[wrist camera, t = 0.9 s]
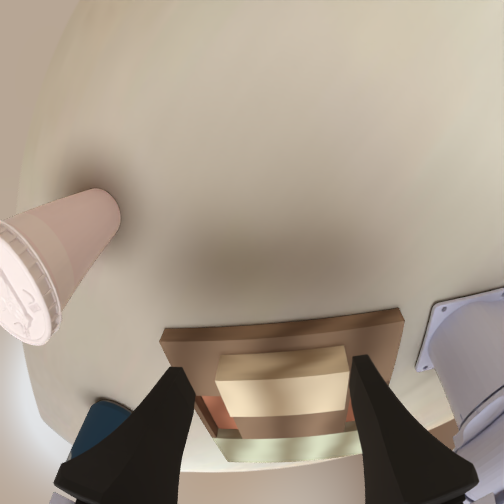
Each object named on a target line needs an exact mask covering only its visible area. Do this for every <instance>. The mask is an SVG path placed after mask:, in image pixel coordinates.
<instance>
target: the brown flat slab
mask: <svg viewBox="0 0 504 504" xmlns="http://www.w3.org/2000/svg"><path fill="white" fill-rule="evenodd" d="M404 323H405V320H404V318H403V316H402V314H401V312H400V310H399V308H395V309H389V310H383V311H376V312H370V313H363V314H356V315H348V316H340V317H332V318H324V319H315V320H306V321H296V322H285V323H274V324H261V325H247V326H230V327H210V328H180V329H165V330H164V332H163V334H162V336H161V339H160V341H159V342H160V344H161V346H162V348H163V351H164V353H165V355H166V357H167V359H168V361H169V363H170V365H171V366H172V367H183V369H184V371H185V374H186V376H187V378H188V380H189V382H190V384H191V385H192V387H193V389H194V391H195V393H196V396H195V405H194V409H195V410H196V412H197V414H198V415H199V417H200V419H201V420H202V422H203V424H204V425H205V427H206V429H207V430H208V432H209V433H210V435H211V437H212V438H213V440H214V441H215V443H216V444H217V446H218V448H219V449H220V451H221V452H222V454H223V455H224V457H225V458H226V460H227V461H228V462H248V463H271V462H296V461H309V460H320V459H329V458H337V457H344V456H351V455H357V454H362V449H361V444H360V440H359V435H358V431H357V427H356V423H355V418H354V414H353V410H352V405H351V397H350V389H349V382H350V374H351V366H352V357H353V356H358V355H365V354H367V355H369V357H370V358H371V360H372V362H373V363H374V365H375V367H376V368H377V370H378V371H379V373H380V375H381V376H382V378H383V379H384V381H385V382H386V383H387V385H388V386H389V383H390V379H391V376H392V372H393V369H394V365H395V361H396V357H397V353H398V349H399V345H400V341H401V336H402V332H403V327H404ZM342 345H344V348H345V352H346V357H347V362H348V366H349V371H350V372H349V380H348V388H347V395H346V402H345V408H344V410H338V411H330V412H322V413H312V414H301V415H287V416H266V417H230V415H229V413H228V410H227V408H226V406H225V404H224V401H223V399H222V397H221V394H220V392H219V390H218V387H217V385H216V382H215V378H216V373H217V368H218V364H219V359H220V355H238V354H258V353H274V352H287V351H298V350H308V349H318V348H327V347H335V346H342Z"/></svg>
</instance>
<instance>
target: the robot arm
mask: <svg viewBox="0 0 504 504" xmlns="http://www.w3.org/2000/svg"><path fill="white" fill-rule="evenodd" d="M443 307H444V308H443ZM442 308H443V309H442ZM433 368H435V371H436V373H437V375H438V377H439V380H440V382H441V385H442V387H443V389H444V392H445V394H446V397H447V399H448V402H449V404H450V407H451V410H452V412H453V415H454V418H455V420H456V423H457V426H458V429H459V432H458V433H457V434H456V435H455V436H454V437H453V440H454V443H455V448H454V449H453V451H452V450H451V449H449V448H448V447H446V446H445V445H444V444H443V443H441V442H440V441H439V440H438V439H437V438H435V437H434V436H433V435H432V434H430V433H429V432H428V431H427V430H426V429H425V428H424V427H423V426H422V425H421V424H420V423H419V422H418V421H417V420H416V419H415V418H414V417H413V416H412V415H411V414H410V413H409V411H408V410H407V409H406V408H405V407H404V406H403V404H402V403H401V402H400V401H399V399H398V398H397V397H396V396H395V394H394V393H393V392H392V390H391V389H390V387H389V386H388V385H387V383H386V382H385V381H384V379H383V378H382V376H381V375H380V373H379V371H378V370H377V368H376V367H375V365H374V363H373V362H372V360H371V358H370V357H369V355H367V354H365V355H358V356H353V357H352V366H351V374H350V382H349V389H350V397H351V405H352V410H353V414H354V418H355V423H356V427H357V431H358V435H359V440H360V444H361V449H362V455H363V463H364V464H363V465H364V478H365V498H366V499H365V502H366V503H365V504H504V288H500V289H496V290H492V291H488V292H484V293H480V294H476V295H472V296H467V297H463V298H458V299H454V300H449V301H444V302H440V303H437V304H435V305H434V306H433V308H432V312H431V316H430V320H429V323H428V327H427V331H426V334H425V338H424V341H423V345H422V348H421V351H420V354H419V357H418V360H417V363H416V366H415V369H416V371H417V372H421V371H425V370H429V369H433ZM195 396H196V393H195V391H194V389H193V387H192V385H191V384H190V382H189V380H188V378H187V376H186V374H185V371H184V369H183V367H169V368H168V370H167V371H166V372H165V373H164V375H163V376H162V377H161V378H160V380H159V381H158V382H157V384H156V385H155V386H154V387H153V389H152V390H151V391H150V393H149V394H148V395H147V396H146V397H145V399H144V400H143V401H142V402H141V403H140V405H139V406H138V407H137V408H136V409H135V410H134V411H133V412H132V413H131V415H130V416H129V417H128V418H127V419H126V420H125V421H124V422H123V423H122V424H121V425H120V426H119V427H117V428H116V429H115V430H114V431H113V432H112V433H111V434H109V435H108V436H107V437H106V438H104V439H103V440H102V441H100V442H99V443H98V444H96V445H95V446H93V447H92V448H90V449H89V450H87V451H85V452H84V453H82V454H80V455H78V456H77V457H75V458H73V459H70V460H68V461H66V462H64V463H62V464H61V466H60V468H59V470H58V473H57V475H56V478H55V480H54V485H55V486H56V487H58V488H59V489H61V490H63V491H64V492H66V493H68V494H70V495H71V496H73V497H75V498H76V499H77V500H76V502H73V501H71V500H69V499H67V498H66V497H64V496H62V495H59V494H58V493H56V492H53V495H52V497H51V500H50V503H49V504H177V501H178V485H179V474H180V467H181V460H182V455H183V451H184V447H185V444H186V440H187V436H188V432H189V429H190V425H191V421H192V417H193V413H194V405H195Z"/></svg>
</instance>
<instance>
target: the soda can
mask: <svg viewBox="0 0 504 504" xmlns="http://www.w3.org/2000/svg"><path fill="white" fill-rule="evenodd" d="M131 413H132V412H131V411H130V410H129V409H127V408H126V407H124V406H122V405H120V404H118V403H116V402H113V401H109V400H101V401H99V402H97V403H95V404H93V405H92V406H91V408H90V410H89V412H88V414H87V416H86V418H85V420H84V423H83V425H82V427H81V429H80V431H79V433H78V435H77V438H76V440H75V442H74V444H73V447H72V449H71V451H70V453H69V456H68V458H67V460H66V461H68V460H70V459H73V458H75V457H77V456H78V455H80V454H82V453H84V452H85V451H87V450H89V449H90V448H92V447H93V446H95V445H96V444H98V443H99V442H100V441H102V440H103V439H104V438H106V437H107V436H108V435H109V434H111V433H112V432H113V431H114V430H115V429H116V428H117V427H119V426H120V425H121V424H122V423H123V422H124V421H125V420H126V419H127V418H128V417H129V416H130V415H131Z"/></svg>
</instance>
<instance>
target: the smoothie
mask: <svg viewBox="0 0 504 504" xmlns="http://www.w3.org/2000/svg"><path fill="white" fill-rule="evenodd" d="M120 222H121V215H120V210H119V207H118V205H117V203H116V201H115V200H114V198H113V197H112V196H111V195H110V194H109V193H108V192H106V191H104V190H102V189H98V188H93V189H89V190H86V191H83V192H80V193H76V194H73V195H70V196H67V197H64V198H61V199H58V200H55V201H53V202H50V203H47V204H44V205H41V206H39V207H36V208H33V209H31V210H28V211H25V212H23V213H20V214H17V215H15V216H12V217H10V218H8V219H6V220H0V325H1V326H2V327H3V328H4V329H5V330H7V331H8V332H9V333H10V334H11V335H13V336H14V337H16V338H18V339H19V340H21V341H23V342H25V343H27V344H31V345H43V344H45V343H46V342H47V341H48V340H49V339H50V338H51V336H52V335H54V334H55V333H56V332H57V331H58V329H59V328H60V324H61V320H62V310H63V309H64V307H65V306H66V304H67V303H68V301H69V300H70V298H71V297H72V295H73V293H74V292H75V290H76V288H77V287H78V285H79V284H80V282H81V281H82V279H83V278H84V276H85V275H86V274H87V272H88V271H89V269H90V268H91V266H92V265H93V264H94V262H95V261H96V259H97V258H98V256H99V255H100V254H101V252H102V251H103V250H104V248H105V247H106V246H107V244H108V243H109V242H110V240H111V239H112V238H113V236H114V235H115V234H116V232H117V231H118V229H119V226H120Z"/></svg>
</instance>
